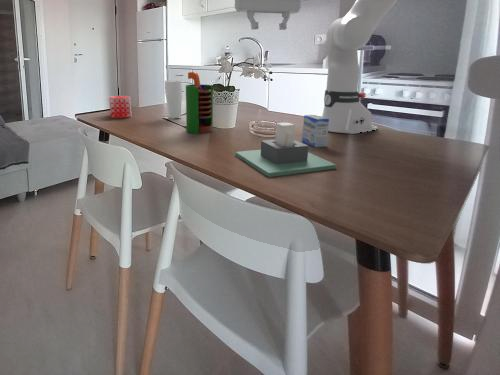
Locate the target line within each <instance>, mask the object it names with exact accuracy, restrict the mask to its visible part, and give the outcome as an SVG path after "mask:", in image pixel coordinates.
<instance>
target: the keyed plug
mask: <svg viewBox="0 0 500 375" xmlns="http://www.w3.org/2000/svg"><path fill="white" fill-rule="evenodd" d="M295 129H296V124H293V123H290V122H276V123H275V139H274V140H275V144H277V145H279V146H287V147H293V145H294V140H295Z"/></svg>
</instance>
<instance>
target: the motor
mask: <svg viewBox="0 0 500 375" xmlns="http://www.w3.org/2000/svg"><path fill="white" fill-rule="evenodd" d="M187 79H188V80H191V79H192V80H193V83H192V84H191V83H190V84H186V85H185V113H186V115H185V118H186V122H185V123H186V132H187V133H191V134H197V135H198V134H207V133H208V134H209V133H211V132H213V131H212V130H213V129H214V128H213V120H214V119H213V109H214V108H213V106H214V105H213V103H214V102H213V101H214V100H213V97H214V96H213V95H214V94H213V92H214V90H213V89H214V88H213V85H212V84H203V83H202V84H201V80H200V75H199V74H198V73H197V72H196V71H191V72H188V73H187Z"/></svg>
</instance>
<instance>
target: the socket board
mask: <svg viewBox="0 0 500 375" xmlns="http://www.w3.org/2000/svg"><path fill="white" fill-rule="evenodd" d="M235 156H236V157H237V158H239V159H240V160H242V161H244V162H245V163H247V165H250V166H251V167H253V169H255V170H257V171H259V172H261V173H262V174H263V175H265V176H266V177H267V178H273V177H274V178H275V177H279V176H289V175H296V174H297V175H298V174H303V173H304V174H305V173H311V172H319V171H320V172H321V171H328V170H334V169H335V170H336V168H337V164H335V163H333V162H331V161H329V160H326V159H324V158H322V157H320V156H317V155H315V154H313V153H311V152H309V145H308V144H306V143H303V142H302V141H301V142H300V141H298V140H296V139H294V145H293V147H287V146H279V145H277V144H275V139H267V140H266V139H265V140H260V149H251V150H243V151H235Z"/></svg>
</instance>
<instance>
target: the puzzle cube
mask: <svg viewBox="0 0 500 375" xmlns="http://www.w3.org/2000/svg"><path fill="white" fill-rule="evenodd" d="M108 101H109V109H110V110H109V112H110V118H111V119H112V118H113V119H115V118H118V117H119V118H132V107H131V96H130V95H110V96H109V98H108Z"/></svg>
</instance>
